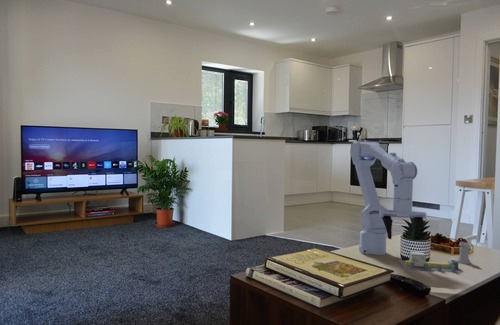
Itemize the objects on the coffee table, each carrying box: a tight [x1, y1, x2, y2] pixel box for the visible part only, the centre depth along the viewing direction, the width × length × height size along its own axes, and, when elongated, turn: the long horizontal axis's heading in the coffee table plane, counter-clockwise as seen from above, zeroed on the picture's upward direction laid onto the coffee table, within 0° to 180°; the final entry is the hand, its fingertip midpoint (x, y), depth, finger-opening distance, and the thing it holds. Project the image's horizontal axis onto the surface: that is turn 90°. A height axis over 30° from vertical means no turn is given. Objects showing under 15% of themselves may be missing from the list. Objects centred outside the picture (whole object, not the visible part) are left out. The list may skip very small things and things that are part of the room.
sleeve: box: [408, 250, 427, 267], centre depth 122 cm, size 4×4×4 cm
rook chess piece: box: [456, 241, 472, 265], centre depth 127 cm, size 4×4×8 cm
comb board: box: [397, 259, 463, 274], centre depth 121 cm, size 17×10×3 cm, turn 80°
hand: (401, 239), depth 123 cm, fingers open, 7 cm apart
